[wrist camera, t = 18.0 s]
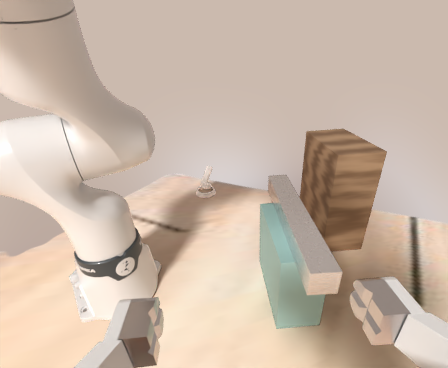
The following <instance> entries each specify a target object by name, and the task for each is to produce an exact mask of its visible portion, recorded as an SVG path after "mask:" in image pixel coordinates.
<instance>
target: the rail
mask: <svg viewBox="0 0 448 368" xmlns="http://www.w3.org/2000/svg"><path fill="white" fill-rule="evenodd" d="M268 192H269V195H270V197H271V200H272V203H273V205H274V208H275V211H276V213H277V216H278V219H279V221H280V224H281V227H282V229H283V232H284V235H285V237H286V240H287V243H288V245H289V248H290V251H291V253H292V256H293V259H294V261H295V264H296V267H297V269H298V272H299V275H300V278H301V280H302V283H303V286H304V288H305V291H306V294H307V295H322V294H338V290H339V285H340V281H341V277H342V273H343V272H342V270H341V268H340V266H339V265H338V263H337V261H336V260H335V258H334V256H333V254H332V253H331V251H330V249H329V247H328V246H327V244H326V242H325V241H324V239H323V237H322V235H321V234H320V232H319V230H318V229H317V227H316V225H315V223H314V222H313V220H312V218H311V216H310V215H309V213H308V211H307V210H306V208H305V206H304V204H303V203H302V201H301V199H300V198H299V196H298V194H297V192H296V191H295V189H294V187H293V186H292V184H291V182H290V180H289V179H288V177H287V175H277V176H269V184H268Z"/></svg>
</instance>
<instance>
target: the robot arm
mask: <svg viewBox="0 0 448 368" xmlns="http://www.w3.org/2000/svg"><path fill="white" fill-rule="evenodd" d="M0 94H2V95H3V96H5V97H6V98H8V99H10V100H12V101H14V102H16V103H19V104H21V105H25V106H28V107H32V108H36V109H40V110H44V111H47V112H50V113H53V114H48V115H40V116H32V117H24V118H17V119H9V120H6V121H2V122H0V196H6V197H11V198H15V199H18V200H21V201H24V202H27V203H29V204H32V205H34V206H36V207H38V208H40V209H41V210H43V211H45V212H46V213H48V214H49V215H50V216H52V217H53V218H54V219H55V220H56V221H57V222H58V223H59V224H60V225H61V227H62V228H63V230H64V231H65V233H66V235H67V236H68V238H69V240H70V242H71V244H72V246H73V248H74V250H75V252H74V255H75V265H76V270H75V271H74V272H73V273H72V274H71V275H70V276H69V278H70V281H71V283H72V285H73V290H74V294H75V299H76V303H77V307H78V312H79V316H80V319H81V321H82V322H90V321H93V320H97V319H103V320H111V321H110V324H109V327H108V329H107V332H106V334H105V337H104V340H103V342H98V343H97V344H96V345H95V347H94V348H93V349H92V350H91V351H90V352H89V353H88V354H87V355H86V356H85V357H84V358H83V359H82V360H81V361H80V362H79V363H78V364H77V365H76V366H75V367H74V368H137V367H145V366H153V365H157V360H158V355H159V349H160V345H159V342H158V339H159V338H160V336H161V335H162V331H163V320H164V319H163V312H162V309H160V308H159V305H160V301H159V298H158V297H154V298H152V297H153V295H154V293H155V291H156V288H157V284H158V274H159V272H160V270H161V264H160V262H158V261H156V260H154V259H153V257H152V254H151V251H150V248H149V246H148V245H145V244H144V243H142V242H141V237H140V234H139V233H138V230H137V229H136V228H135V227H134V223H133V220H132V216H131V213H130V209H129V206H128V203H127V202H126V200H125V199H124V198H123V197H122V196H120V195H118V194H116V193H114V192H111V191H108V190H101V189H95V188H92V187H89V186H87V185H85V184H84V183H82V182H83V181H84V180H88V179H93V178H97V177H101V176H105V175H109V174H113V173H118V172H121V171H125V170H128V169H130V168H132V167H134V166H137V165H139V164H141V163H143V162H145V161H147V160H149V158H150V157H151V155H152V153H153V150H154V145H155V135H154V131H153V128H152V126H151V124H150V122H149V121H148V119H147V118H146V117H145V116H144V115H143V114H142V113H141V112H140V111H139V110H137V109H136V108H134V107H131V106H129V105H127V104H125V103H123V102H122V101H120V100H119V99H117V98H116V97H115V96H113V95H112V94H111V93H110V92H109V91H108V90H107V89H106V87H105V86H104V85H103V84H102V82H101V81H100V79H99V78H98V76H97V74H96V72H95V70H94V67H93V65H92V62H91V60H90V57H89V54H88V51H87V48H86V45H85V42H84V39H83V35H82V32H81V28H80V25H79V21H78V18H77V14H76V10H75V6H74V3H73V0H0ZM353 287H354V289H355V290H354V291H353V292H352V293H351V294H350V305H351V308H352V311H353V313H354V315H355V316H356V318H358V319H359V320H360V321H362V322H363V325H362V329H363V331H364V332H365V334H366V336H367V338H368V339H369V341H370V343H371V345H387V344H394V346H395V347H396V348H398V349H399V350H400V351H401V352H402V353H403V354H405V355H406V356H407V357H408V358H409V359H410V360H412V361H413V362H414V363H415V364H416V365H417V366H419V367H420V368H448V323H447V322H445V321H443V320H442V319H440V318H438V317H436V316H435V315H433V314H431V313H426V312H425V311H424V310H423V309H422V308H421V307H420V305H419V304H418V303H417V302H416V301H415V300H414V298H413V297H412V296H411V295H410V294H409V293H408V291H407V290H406V289H405V288H404V287H403V286H402V284H401V283H400V282H399V281H398V280H397V279H396V278H395V277H381V278H379V277H377V278H368V279H358V280H355V281H354V283H353ZM86 310H87V311H86ZM85 311H86V312H85Z"/></svg>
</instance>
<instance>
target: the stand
mask: <svg viewBox="0 0 448 368" xmlns="http://www.w3.org/2000/svg"><path fill="white" fill-rule="evenodd" d="M386 153H387V152H386V151H385V150H383V149H381V148H379V147H377V146H375V145H373V144H371V143H370V142H368V141H366V140H364V139H362V138H360V137H358V136H356V135H354V134H352V133H351V132H348V131H346V130H345V129H333V130H320V131H307V133H306V143H305V153H304V162H303V173H302V183H301V192H300V193H301V194H300V199H301V201H302V203H303V204H304V206H305V208H306V210H307V211H308V213H309V215H310V216H311V218H312V220H313V222H314V223H315V225H316V227H317V229H318V230H319V232H320V234H321V235H322V237H323V239H324V241H325V242H326V244H327V246H328V247H329V249H330V251H342V250H354V249H361V247H362V243H363V239H364V235H365V232H366V228H367V224H368V220H369V217H370V213H371V209H372V206H373V202H374V198H375V194H376V191H377V187H378V183H379V179H380V175H381V172H382V168H383V164H384V160H385V157H386Z"/></svg>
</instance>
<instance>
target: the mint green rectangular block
mask: <svg viewBox="0 0 448 368" xmlns="http://www.w3.org/2000/svg"><path fill="white" fill-rule="evenodd" d="M260 264H261V268H262V272H263V276H264V280H265V284H266V288H267V292H268V296H269V300H270V304H271V308H272V312H273V316H274V320H275V324H276V328H277V329H279V328H291V327H302V326H313V325H319V324H320V319H321V314H322V309H323V304H324V299H325V295H326V294H322V295H307V294H306V291H305V288H304V286H303V283H302V280H301V278H300V275H299V272H298V269H297V267H296V264H295V261H294V259H293V256H292V253H291V251H290V248H289V245H288V243H287V240H286V237H285V235H284V232H283V229H282V227H281V224H280V221H279V219H278V216H277V213H276V211H275V208H274V205H273V203H267V204H260Z"/></svg>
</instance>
